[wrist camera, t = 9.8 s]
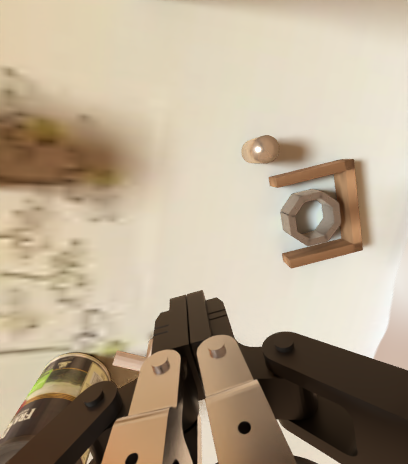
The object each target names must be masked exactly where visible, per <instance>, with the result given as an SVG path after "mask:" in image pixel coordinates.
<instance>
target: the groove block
mask: <svg viewBox="0 0 408 464" xmlns="http://www.w3.org/2000/svg"><path fill="white" fill-rule="evenodd" d="M331 174H334V180H335V189H336V197H337V202H338V203H339V207H340V216H341V223H340V231H341V239H337V240H333V241H329V242H325V243H322V244H318V245H314V246H310V247H306V248H302V249H298V250H294V251H290V252H286V253H282V256H283V261H284V262H285V263H286V264H287V265H288V266H289V267H290V268H295V267H299V266H303V265H307V264H311V263H314V262H318V261H322V260H326V259H330V258H334V257H338V256H342V255H346V254H349V253H353V252H357V251H361V250H363V247H362V237H361V227H360V217H359V207H358V197H357V187H356V177H355V167H354V159H340V160H336V161H332V162H328V163H324V164H320V165H316V166H312V167H308V168H304V169H300V170H296V171H292V172H288V173H284V174H280V175H276V176H272V177H269V182H270V186H272V187H276V188H279V187H283V186H287V185H291V184H295V183H299V182H303V181H307V180H311V179H315V178H319V177H323V176H327V175H331Z"/></svg>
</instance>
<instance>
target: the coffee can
mask: <svg viewBox="0 0 408 464" xmlns="http://www.w3.org/2000/svg"><path fill="white" fill-rule="evenodd" d="M101 381H111V379H110V375H109V372H108V370H107V368H106V367H105V366H104V365H103V364H102V363H101V362H100V361H99V360H97V359H96V358H94V357H92V356H90V355H87V354H82V353H68V354H64V355H61V356H58V357H56V358H55V359H53V360H52V361H51V362H49V363H48V364H47V365H46V367H45V368H44V370H43V372H42V374H41V376H40V377H39V379H38V380H37V382H36V384H35V385H34V387H33V388H32V390H31V391H30V393H29V394H28V396H27V398H26V399H25V401H24V402H23V404H22V405H21V407H20V408H19V410H18V411H17V413H16V415H15V416H14V418H13V419H12V421H11V422H10V424H9V425H8V427H7V428H6V430H5V431H4V433H3V435H2V436H1V437H0V464H5V463H6V462H7V461H9V460H10V459H11V458H12V457H13V456H14V455H15V454H16V453H17V452H18V451H19V450H20V449H21V448H23V447H24V446H25V445H26V444H27V443H28V442H29V441H30V440H31V439H32V438H33V437H34V436H35V435H36V434H38V433H39V432H40V431H41V430H42V429H43V428H44V427H45V426H46V425H47V424H48V423H49V422H50V421H52V420H53V419H54V418H55V417H56V416H57V415H58V414H59V413H60V412H61V411H62V410H63V409H64V408H66V407H67V406H68V405H69V404H70V403H71V402H72V401H73V400H74V399H75V398H76V397H77V396H78V395H80V394H81V393H82V392H83V391H84V390H85V389H87V388H88V387H90V386H91V385H93V384H95V383H98V382H101ZM89 454H90V450H89V448H88V450H87V451H86V452H85V453H84V454H83V455H82V456H81V457H80V459H79V460H78V461H77V462H76V463H75V464H86V463H87V460H88V457H89Z"/></svg>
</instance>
